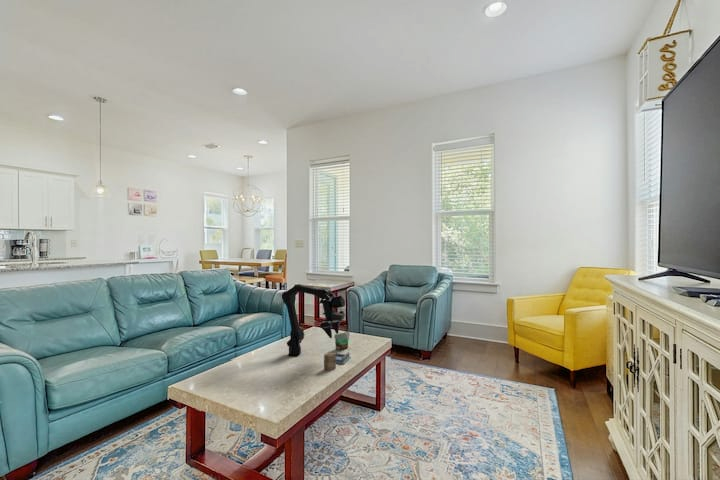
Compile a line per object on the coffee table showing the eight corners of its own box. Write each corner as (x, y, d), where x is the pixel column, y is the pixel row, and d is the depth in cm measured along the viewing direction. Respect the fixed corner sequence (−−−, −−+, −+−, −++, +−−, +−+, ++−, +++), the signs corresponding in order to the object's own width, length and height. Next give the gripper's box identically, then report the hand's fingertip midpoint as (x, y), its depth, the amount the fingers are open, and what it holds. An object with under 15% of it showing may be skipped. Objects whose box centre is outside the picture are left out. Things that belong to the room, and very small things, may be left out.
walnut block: (324, 369, 180) (324, 354, 180) (330, 366, 184) (330, 352, 184) (328, 371, 177) (328, 356, 177) (335, 368, 181) (335, 354, 181)
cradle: (326, 362, 190) (326, 356, 190) (333, 355, 201) (333, 350, 201) (344, 364, 187) (344, 358, 187) (350, 357, 197) (350, 352, 197)
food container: (341, 351, 208) (341, 336, 208) (334, 349, 212) (334, 334, 212) (353, 346, 218) (353, 331, 218) (346, 345, 222) (346, 330, 222)
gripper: (334, 310, 184) (340, 338, 183) (346, 304, 201) (352, 329, 200) (316, 313, 188) (322, 341, 186) (330, 307, 205) (336, 332, 204)
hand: (334, 335), depth 194 cm, fingers open, 9 cm apart
